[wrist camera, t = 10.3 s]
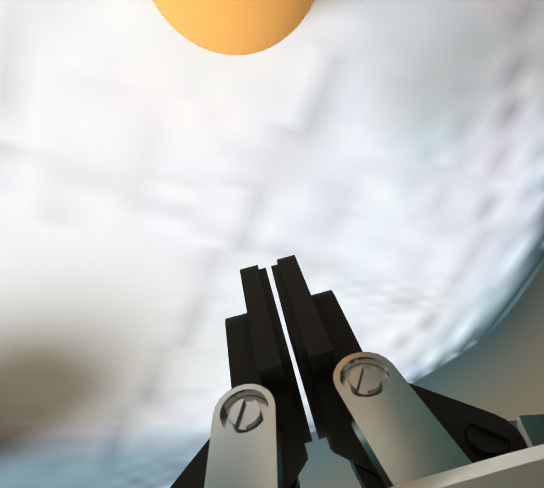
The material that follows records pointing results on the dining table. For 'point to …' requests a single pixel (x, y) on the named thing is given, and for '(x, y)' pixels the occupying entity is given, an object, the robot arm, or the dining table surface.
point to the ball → (234, 22)
